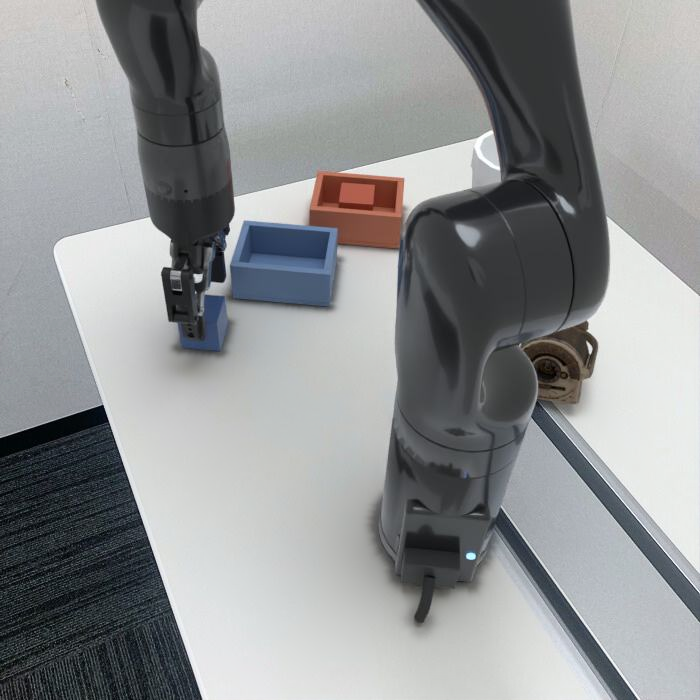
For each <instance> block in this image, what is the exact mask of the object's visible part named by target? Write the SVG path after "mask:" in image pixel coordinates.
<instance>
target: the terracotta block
mask: <svg viewBox="0 0 700 700" xmlns="http://www.w3.org/2000/svg"><path fill="white" fill-rule="evenodd" d="M374 192H375V185H369V184H355V183H342V184H341V191H340V197H339V208H344V209H356V210H368V211H373V205H374Z"/></svg>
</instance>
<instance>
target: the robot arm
mask: <svg viewBox="0 0 700 700" xmlns="http://www.w3.org/2000/svg"><path fill="white" fill-rule="evenodd" d="M94 1H95V5H96V10H97V13H98V16H99V18H100V22H101V24H102V26H103V29H104V33H106V37H107V39H108V40H109V43H110V45H111V48H112V50H113V53H114V54H115V57H116V59H117V62H118V64H119V66H120V67H121V70H122V71H123V73H124V75H125V77H126V79H127V81H128V87H129V88H128V89H129V95H130V102H131V107H132V112H133V117H134V122H135V128H136V137H137V138H136V139H137V155H138V161H139V166H140V171H141V177H142V183H143V187H144V192H145V199H146V202H147V209H148V213H149V218H150V220H151V223H152V224H153V226H154V227H155V229H157V230H158V231H159V232H161V233H162V234H164V235H165V236H167V237H168V238H169V239H170V242H169V256H170V257H171V267H168V266H163V267H162V269H161V272H160V276H161V283H162V289H163V296H164V301H165V308H166V314H167V320H168V322H169V323H174V324H177V323H181V328H182V334H183V337H184V338H185V339H187V340H195V341H204V340H205V338H206V335H207V330H206V323H205V316H204V294H206V293H205V292H207V291H209V290H210V288H211V283H218V284H224V283H225V282H226V279H227V268H226V258H225V251H226V249H227V245H228V244H227V240H226V238H227V236H229V234H230V232H231V226H230V224H231V222H232V221H233V218H234V216H235V213H236V205H235V193H234V183H233V182H234V181H233V172H232V162H231V161H232V159H231V148H230V143H229V138H228V133H227V130H226V124H225V117H224V116H225V115H224V108H223V95H222V84H221V76H220V72H219V68H218V65H217V62H216V59H215V58H214V57H213V55H212V53H211V52H210V51H208V49H207V48H205V47H204V46H202V45H201V43H200V37H199V29H198V9H199V8H200V6H202V4H203V2H204V1H205V0H94ZM415 2H416V3H417V4H418V6H419V7H420V8H421V10H422V11H423V12H424V13H425V15H426V16H427V18H428V19H429V20H430V22H431V23H432V24H433V25H434V26H435V27H436V29H437V30H438V31H439V33H440V34H441V35H442V37H443V38H444V39H445V40H446V41H447V43H448V44H449V45H450V46H451V48H452V49H453V50H454V52H455V54H456V55H457V57H459V59H460V60H461V62H462V64H463V65H464V66H465V68H466V69H467V71H468V72H469V74H470V76H471V78H472V79H473V81H474V83H475V85H476V87H477V89H478V91H479V93H480V96H481V97H482V100H483V103H484V106H485V108H486V112H487V114H488V118H489V122H490V126H491V129H492V130H493V134H494V138H495V142H496V147H497V153H498V158H499V165H500V173H501V181H500V182H496V183H492V184H488V185H483V186H479V187H475V188H472V187H471V188H467V189H463V190H459V191H454V192H450V193H445V194H442V195H439V196H435V197H430V198H428V199H426V200H423V201H420V202H419V203H418V204H417V205H415V206H414V208H413V209H412V210H411V212H410V213H409V215H408V216H407V218H406V219H405V223H404V225H403V229H402V230H401V234H400V239H399V248H398V255H397V256H398V257H397V274H396V275H397V277H396V279H397V280H396V281H397V282H396V307H395V321H394V322H395V325H394V355H395V365H396V376H397V382H396V389H395V398H394V406H393V414H392V420H391V427H390V435H389V444H388V453H387V460H386V466H385V467H386V468H385V475H384V476H385V477H384V484H383V491H382V501H381V505H380V509H379V514H378V532H379V537H380V538H379V539H380V541H381V544H382V546H383V548H384V549H385V551H386V552H387V554H388V555H389V557H390V558H391V559H392V561H394V573H395V574H396V575H399V576H400V584H402V585H403V584H404V585H413V586H422V587H421V594H420V599H419V603H418V607H417V610H416V612H415V613H414V616H413V618H414V621H415V622H416V623H419V624H422V623H425V620H426V619H427V616H428V615H429V612H430V609H431V606H432V601H433V597H434V596H433V595H434V590H435V588H442V589H453V590H454V589H455V588H456V587H457V586H456V585H457V583H458V582H465V583H466V582H467V583H471V582H472V581H473V578H474V575H475V573H476V569H477V567H478V565H479V564H480V563H481V562H482V561H483V559H484V558H485V556H486V554H487V552H488V549H489V546H490V544H491V540H492V536H493V531H494V528H495V525H496V522H497V519H498V515H499V513H500V510H501V506H502V503H503V501H504V498H505V494H506V492H507V489H508V487H509V483H510V480H511V476H512V473H513V471H514V467H515V465H516V462H517V458H518V456H519V453H520V450H521V447H522V444H523V442H524V438H525V435H526V432H527V430H528V427H529V424H530V421H531V419H532V416H533V412H534V409H535V407H536V403H537V400H538V399H537V395H538V379H537V374H536V371H535V368H534V366H533V364H532V362H531V360H530V359H529V357H528V356H527V355H526V354H525V352H524V351H523V350H522V349H521V348H520V345H521V344H522V343H525V342H528V341H531V340H534V339H538V338H541V337H544V336H547V335H550V334H554V333H557V332H560V331H563V330H566V329H569V328H571V327H574V326H576V325H579V324H581V323H583V322H584V321H586V320H587V321H588V320H589V319H591V318H592V317H593V316H594V315H595V314H596V313H597V312H598V310H599V308H600V307H601V306H602V304H603V302H604V301H605V298H606V294H607V291H608V287H609V283H610V275H611V274H610V273H611V240H610V231H609V225H608V224H609V223H608V216H607V211H606V204H605V199H604V193H603V188H602V183H601V178H600V172H599V167H598V161H597V156H596V152H595V147H594V141H593V136H592V131H591V126H590V120H589V114H588V110H587V104H586V99H585V95H584V89H583V84H582V78H581V74H580V73H581V72H580V68H579V67H580V66H579V59H578V51H577V47H576V46H577V45H576V38H575V30H574V21H573V13H572V6H571V0H415ZM194 275H202V277H201V280H200V281H199V280H198V281H197V280H196V277H195V276H194ZM518 345H519V346H518Z"/></svg>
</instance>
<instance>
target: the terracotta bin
mask: <svg viewBox="0 0 700 700" xmlns="http://www.w3.org/2000/svg"><path fill="white" fill-rule="evenodd" d="M316 172H317V173H316V177H315V180H314V181H315V182H314V187H313V190H312V196H311V200H310V206H309V210H308V211H309V212H308V213H309V215H308V217H309V219H308V220H309V223H308V224H309V225H308V226H316V227H328V228H338V242H337V245H338V244H340V245H349V246H361V247H363V246H364V247H373V248H385V249H397V250H399V246H400V239H401V228H402V218H403V205H404V190H405V177H398V176H385V175H375V174H373V175H372V174H361V173H349V172H338V171H337V172H336V171H327V170H317V171H316ZM342 183H355V184H369V185H375V192H374V205H373V211H368V210H356V209H344V208H339V197H340V191H341V184H342Z"/></svg>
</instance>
